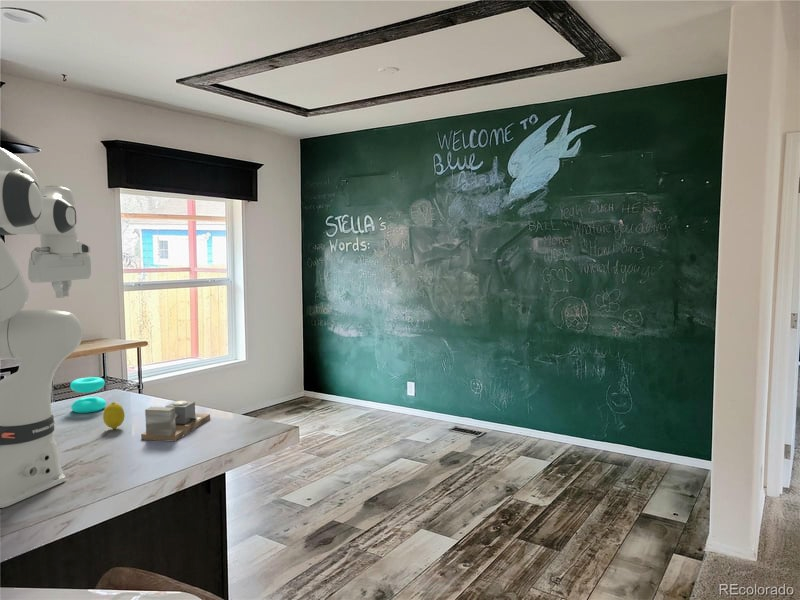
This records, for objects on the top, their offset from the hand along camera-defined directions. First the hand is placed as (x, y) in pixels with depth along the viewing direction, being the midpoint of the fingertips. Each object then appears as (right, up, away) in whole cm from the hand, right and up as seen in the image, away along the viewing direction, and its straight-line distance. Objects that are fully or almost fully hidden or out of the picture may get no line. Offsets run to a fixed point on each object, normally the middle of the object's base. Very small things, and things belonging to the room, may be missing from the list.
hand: (62, 297), depth 160 cm
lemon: (+10, -39, +9) cm, 41 cm away
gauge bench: (+28, -38, +10) cm, 49 cm away
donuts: (-9, -37, +30) cm, 48 cm away
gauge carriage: (+29, -36, +10) cm, 48 cm away
